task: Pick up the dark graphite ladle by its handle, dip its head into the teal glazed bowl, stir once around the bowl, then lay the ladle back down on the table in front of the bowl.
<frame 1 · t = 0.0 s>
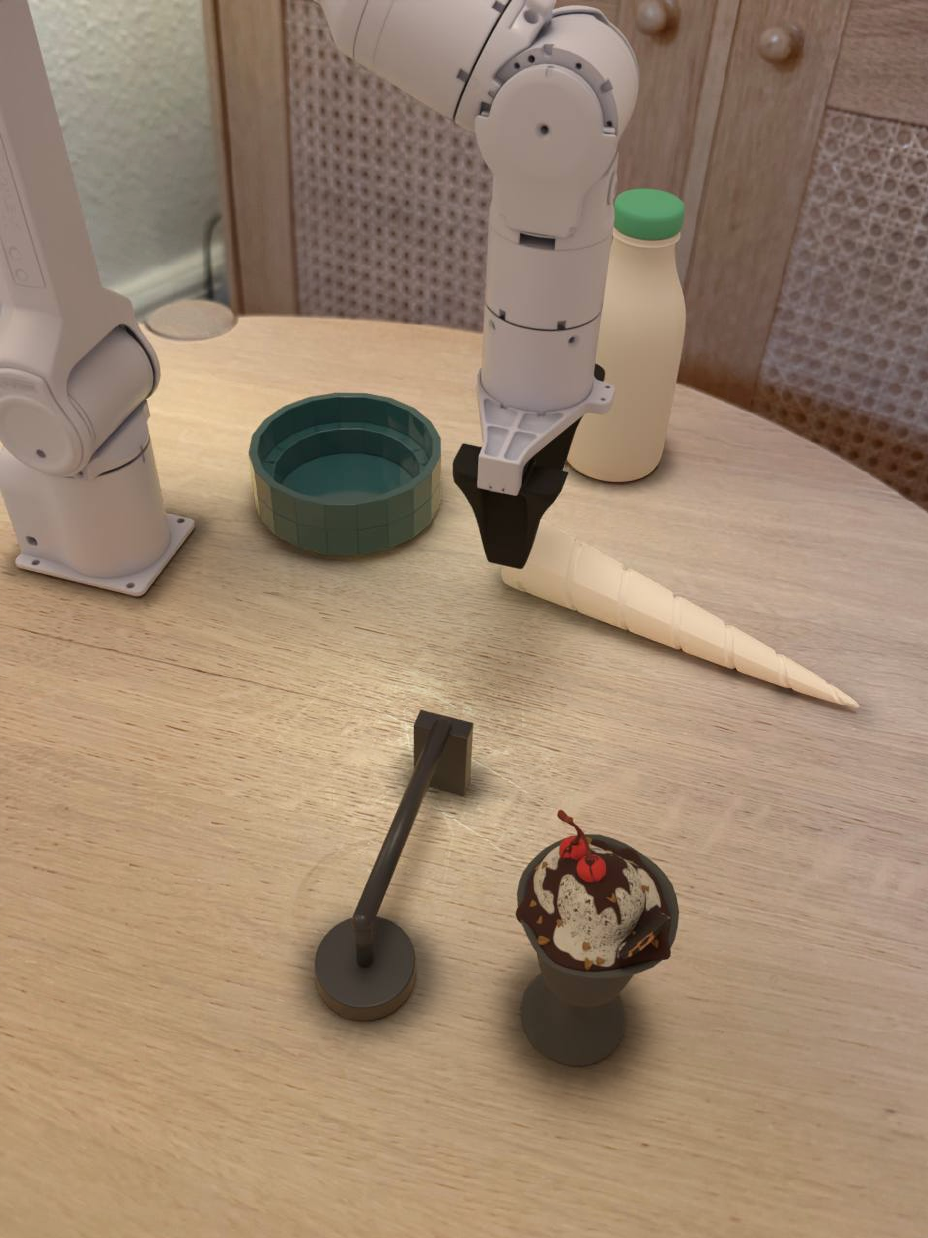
hand: (523, 519, 62), 10 cm above the table, tool pointing down, fingers open, 7 cm apart
sundae: (570, 1016, 52), on the table
bowl: (348, 501, 79), on the table
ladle: (366, 974, 53), on the table
unicorn horn: (662, 634, 70), on the table
milk bottle: (610, 456, 84), on the table
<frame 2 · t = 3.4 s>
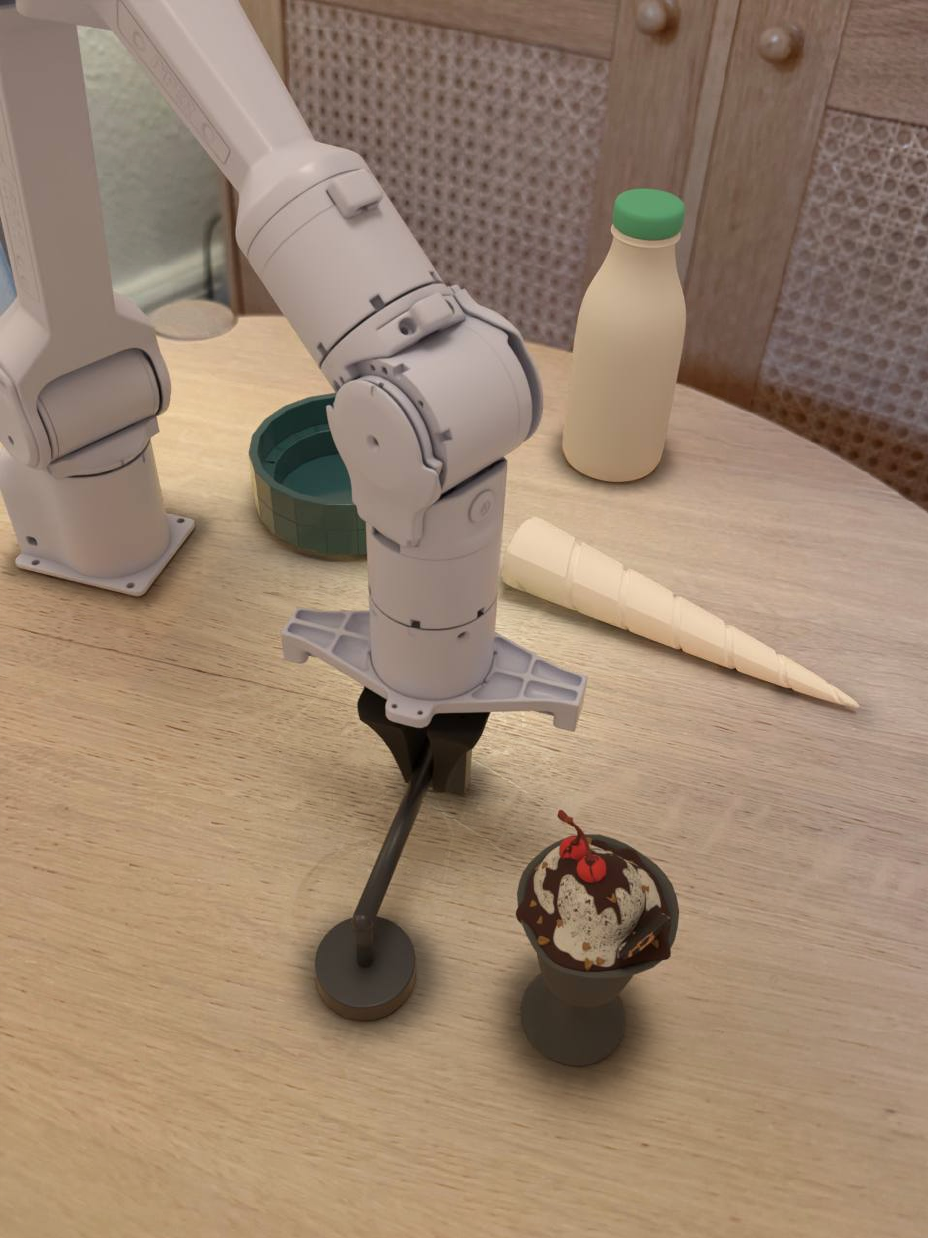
hand: (430, 773, 57), 3 cm above the table, tool pointing down, fingers closed on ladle
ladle: (366, 973, 53), on the table, touching gripper
everything else where it was.
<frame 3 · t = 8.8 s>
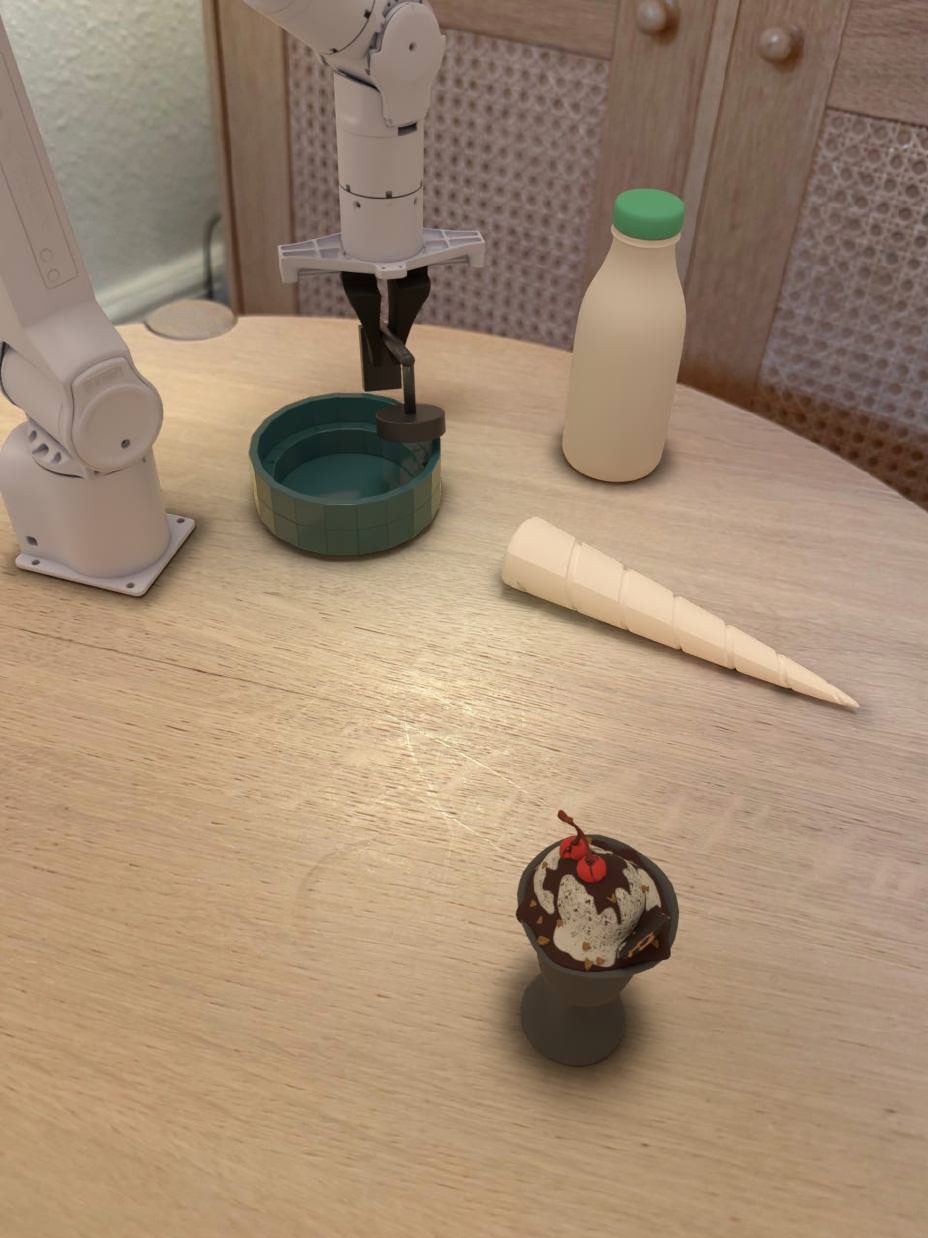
hand: (384, 358, 82), 5 cm above the table, tool pointing down, fingers closed on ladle
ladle: (411, 432, 75), point 6 cm above the table, tilted 18°, touching gripper
everything else where it was.
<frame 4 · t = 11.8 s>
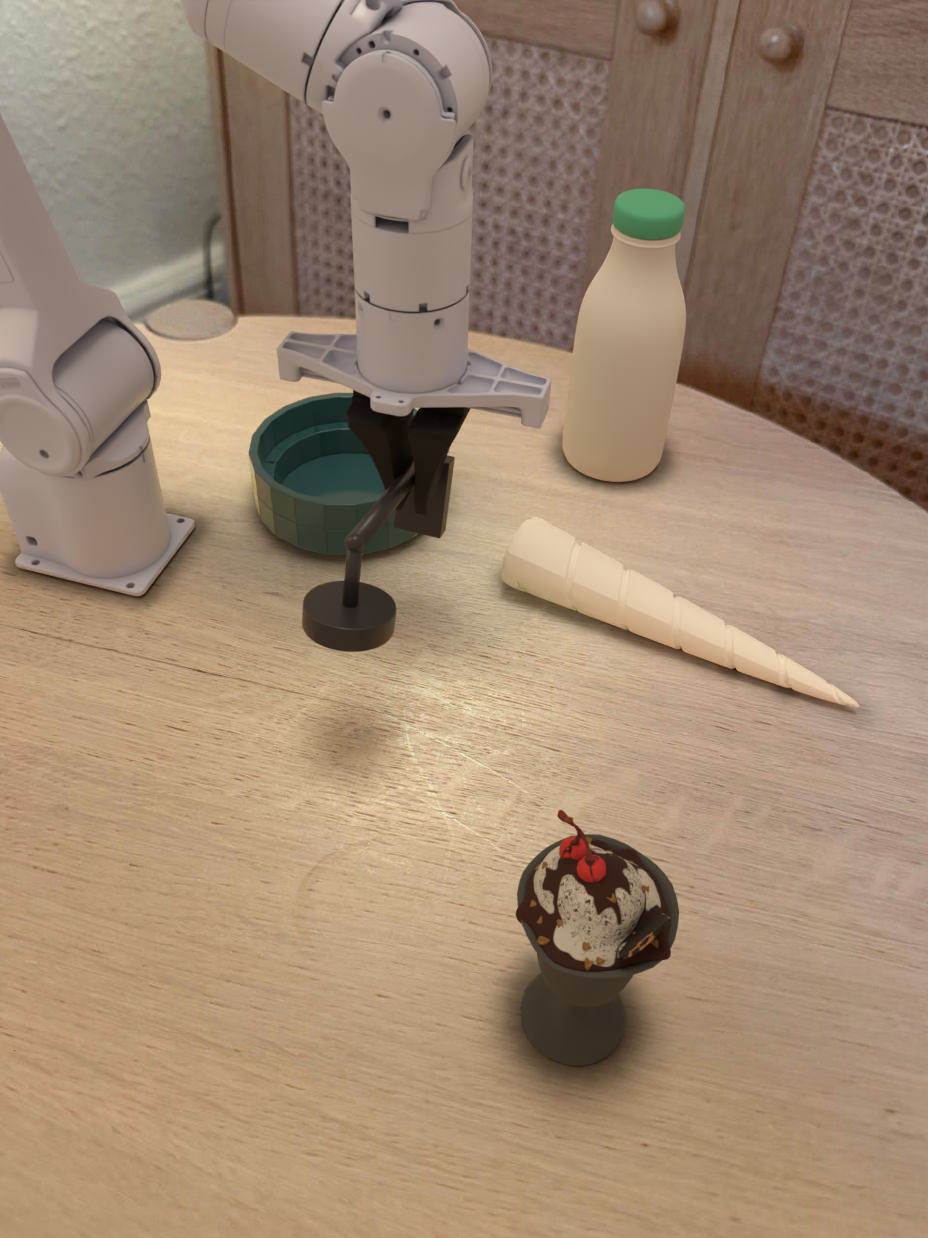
hand: (413, 501, 63), 10 cm above the table, tool pointing down, fingers closed on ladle
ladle: (348, 626, 56), point 9 cm above the table, tilted 13°, touching gripper
everything else where it was.
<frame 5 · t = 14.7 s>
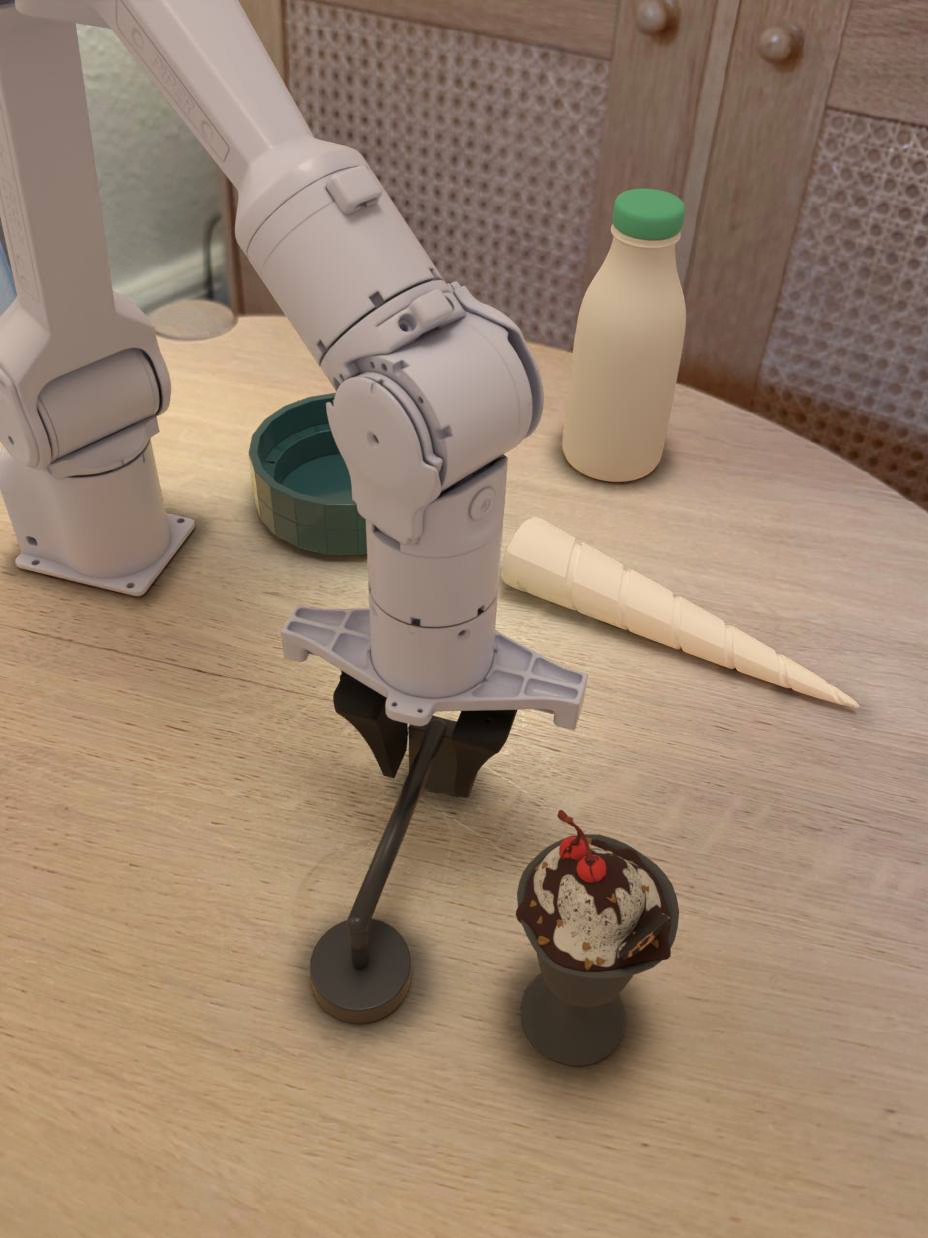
hand: (430, 772, 57), 4 cm above the table, tool pointing down, fingers open, 3 cm apart
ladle: (361, 976, 52), on the table, touching gripper
everything else where it was.
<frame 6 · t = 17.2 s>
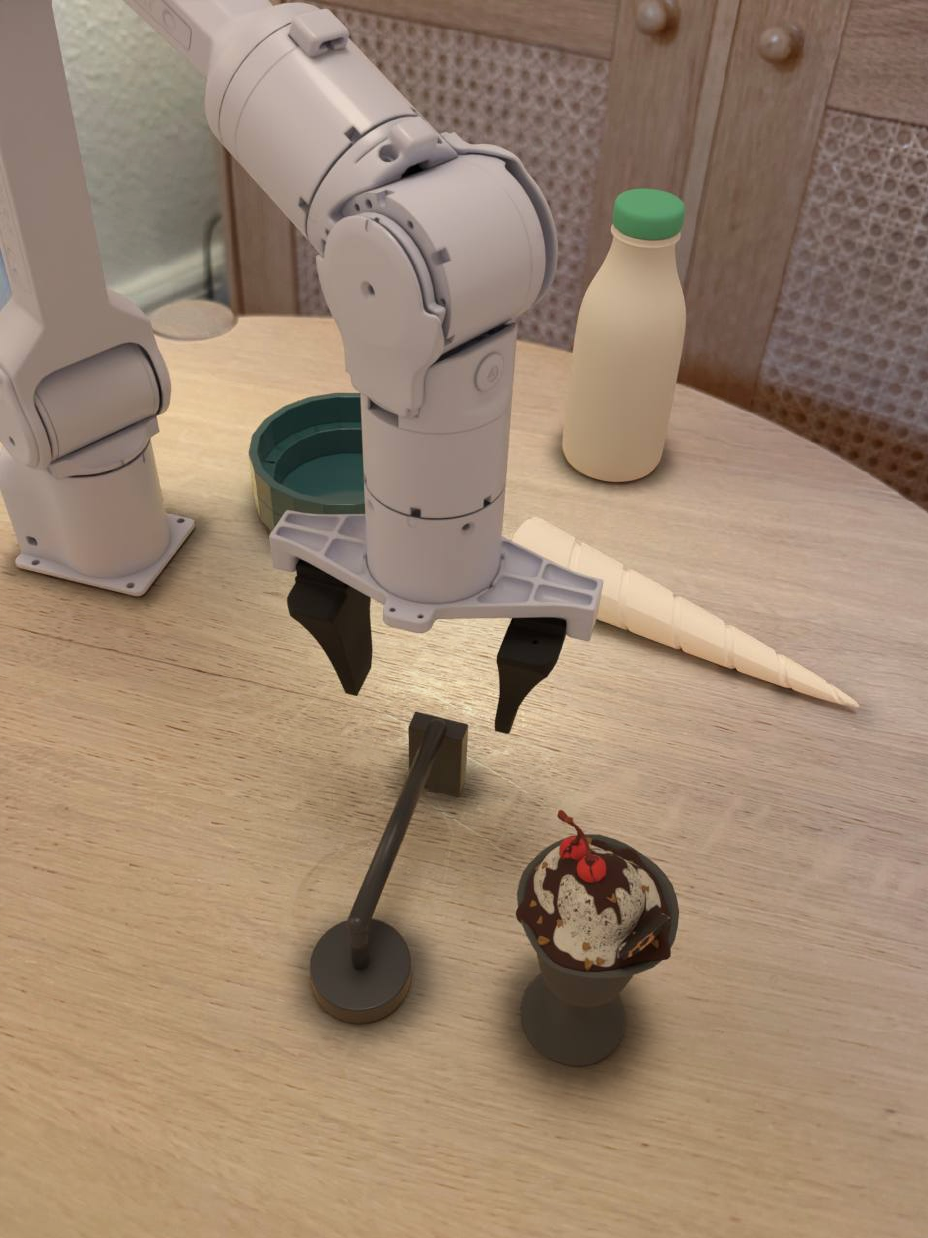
hand: (431, 698, 53), 9 cm above the table, tool pointing down, fingers open, 7 cm apart
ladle: (361, 976, 52), on the table
everything else where it was.
at the end: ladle tilted 0°; the gripper is holding nothing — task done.
